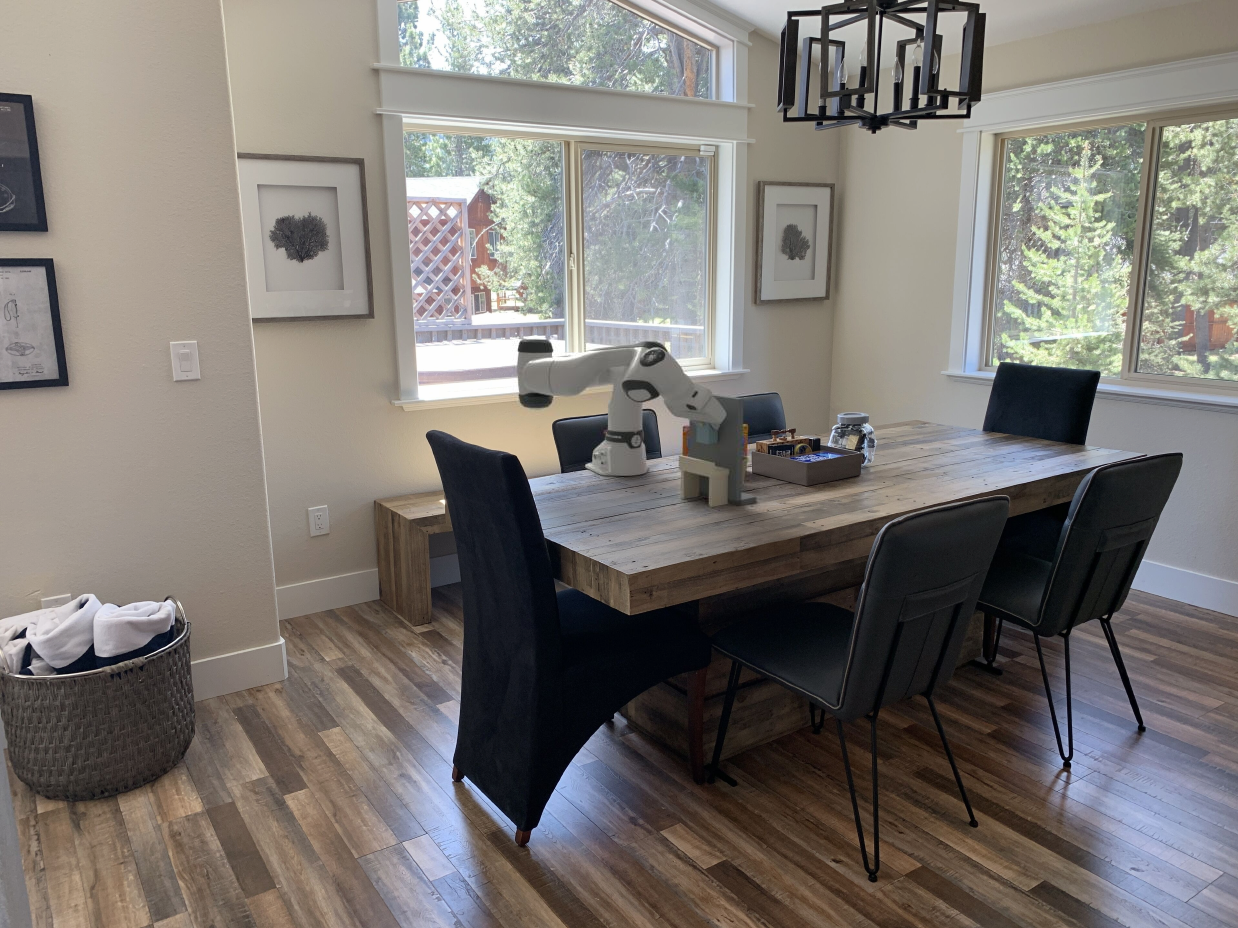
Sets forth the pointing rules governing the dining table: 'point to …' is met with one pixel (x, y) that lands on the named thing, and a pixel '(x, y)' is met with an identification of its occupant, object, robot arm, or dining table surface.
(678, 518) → the dining table surface
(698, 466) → the wall board
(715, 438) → the small cabinet
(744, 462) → the flower pot
